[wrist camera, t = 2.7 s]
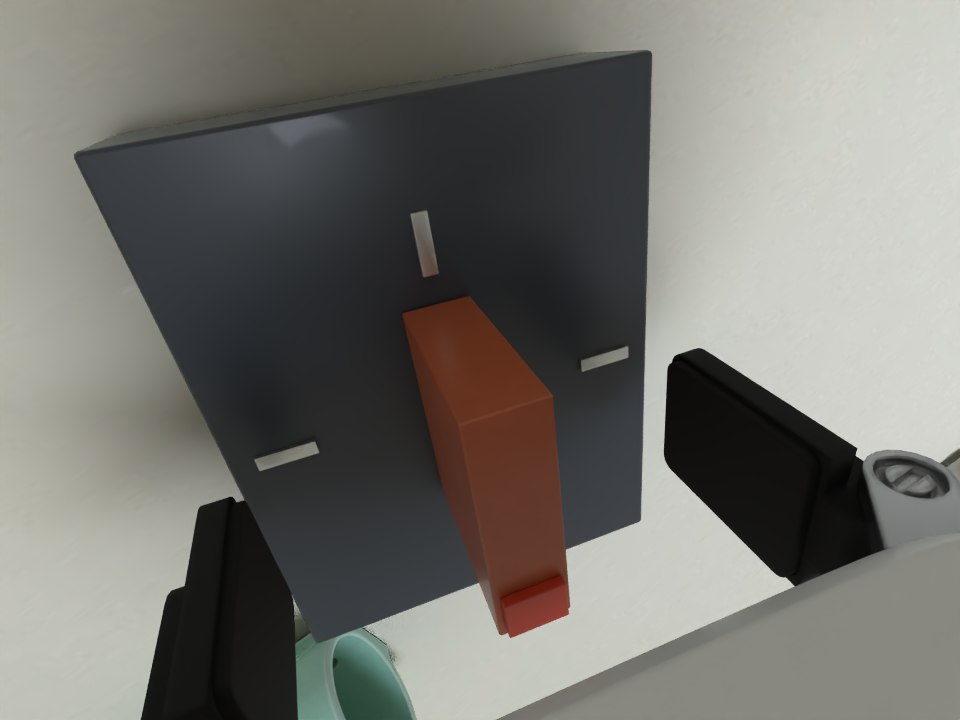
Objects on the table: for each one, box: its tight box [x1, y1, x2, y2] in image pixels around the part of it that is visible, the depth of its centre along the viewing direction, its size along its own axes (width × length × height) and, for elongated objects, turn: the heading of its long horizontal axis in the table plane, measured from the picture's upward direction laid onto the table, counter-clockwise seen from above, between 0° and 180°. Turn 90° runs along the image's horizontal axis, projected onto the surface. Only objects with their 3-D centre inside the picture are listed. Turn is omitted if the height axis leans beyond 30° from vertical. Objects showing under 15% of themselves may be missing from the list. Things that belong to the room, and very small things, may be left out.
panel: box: [74, 50, 652, 643], centre depth 15 cm, size 14×11×3 cm
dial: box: [402, 296, 570, 638], centre depth 12 cm, size 6×2×5 cm, turn 8°
